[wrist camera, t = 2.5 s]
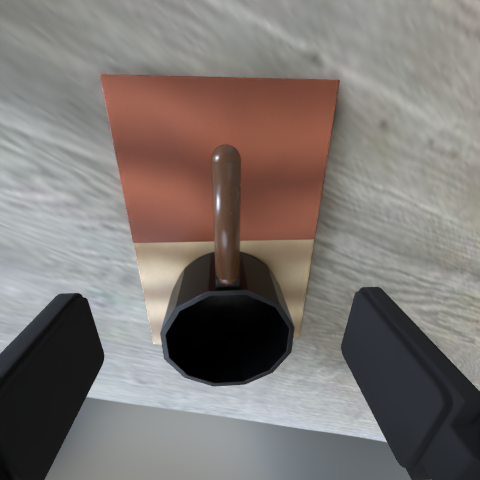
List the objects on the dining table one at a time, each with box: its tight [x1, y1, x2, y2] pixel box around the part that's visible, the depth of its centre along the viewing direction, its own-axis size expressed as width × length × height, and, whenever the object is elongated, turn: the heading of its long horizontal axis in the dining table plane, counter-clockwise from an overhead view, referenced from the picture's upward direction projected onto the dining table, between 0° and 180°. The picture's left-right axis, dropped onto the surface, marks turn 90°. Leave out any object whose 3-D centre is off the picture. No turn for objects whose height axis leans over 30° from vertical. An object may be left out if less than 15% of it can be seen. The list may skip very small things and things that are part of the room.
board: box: [100, 74, 339, 344], centre depth 26 cm, size 29×19×1 cm, turn 179°
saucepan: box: [160, 144, 295, 386], centre depth 23 cm, size 23×12×7 cm, turn 179°
